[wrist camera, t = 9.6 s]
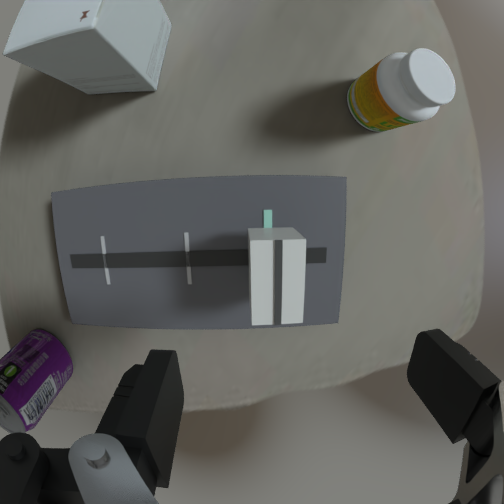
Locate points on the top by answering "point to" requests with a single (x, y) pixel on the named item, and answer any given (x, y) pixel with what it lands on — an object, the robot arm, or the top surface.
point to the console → (193, 248)
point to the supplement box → (93, 42)
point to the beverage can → (31, 379)
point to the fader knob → (276, 275)
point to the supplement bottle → (401, 90)
